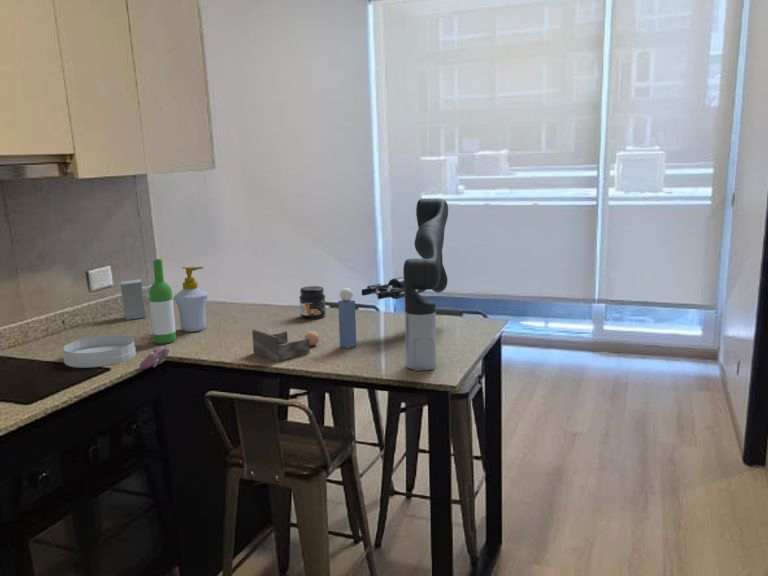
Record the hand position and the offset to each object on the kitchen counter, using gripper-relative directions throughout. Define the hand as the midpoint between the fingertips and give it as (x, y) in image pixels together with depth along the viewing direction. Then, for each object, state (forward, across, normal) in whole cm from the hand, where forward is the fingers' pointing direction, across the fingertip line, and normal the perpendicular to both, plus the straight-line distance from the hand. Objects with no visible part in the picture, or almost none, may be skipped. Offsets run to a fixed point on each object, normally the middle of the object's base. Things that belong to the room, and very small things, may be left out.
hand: (370, 294), depth 225 cm
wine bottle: (+53, -53, +16) cm, 77 cm away
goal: (+31, -9, +16) cm, 36 cm away
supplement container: (-6, -44, +17) cm, 48 cm away
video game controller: (+67, -28, +16) cm, 74 cm away
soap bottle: (+38, -61, +17) cm, 74 cm away
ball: (+19, -9, +16) cm, 27 cm away
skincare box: (+46, -100, +17) cm, 111 cm away
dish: (+76, -50, +16) cm, 93 cm away
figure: (+11, +1, +16) cm, 20 cm away
